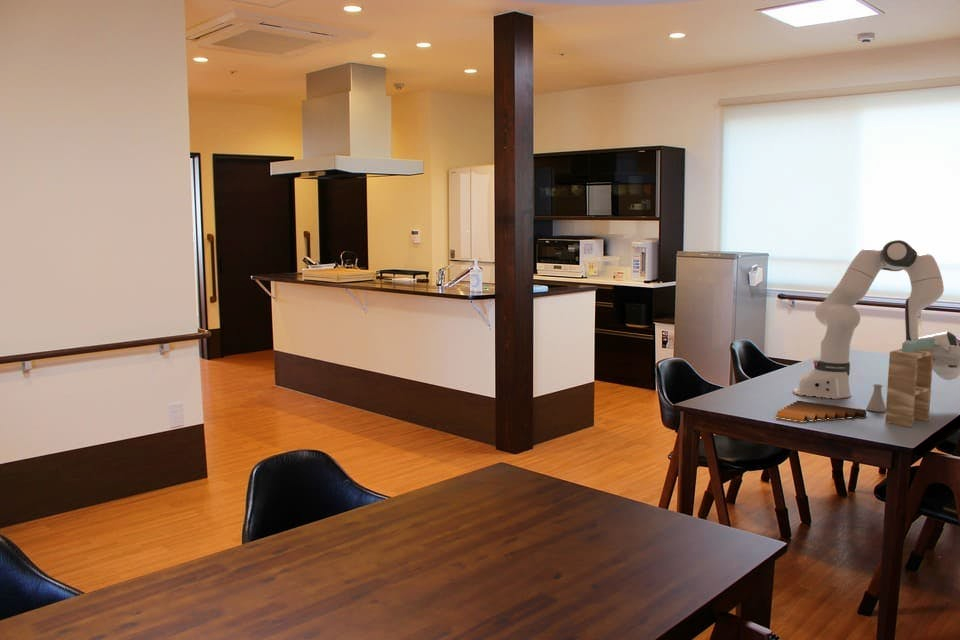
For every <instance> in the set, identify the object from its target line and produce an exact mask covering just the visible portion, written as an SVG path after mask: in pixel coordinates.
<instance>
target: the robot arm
mask: <svg viewBox="0 0 960 640" xmlns="http://www.w3.org/2000/svg"><path fill="white" fill-rule="evenodd" d="M881 270H882V271H891V272H900V271H903V270H904V271H905V272H906V273H907V275H908V277H909V282H910V286H911V287H910V288H911V289H910V295H909V297H908V298H907V299H905V304H904V306H905V307H904V317H905V318H904V319H905V320H904V322H905V323H904V325H905V341H903V343H905V342H909V341H913V340H918V339H922V338H933V339H935V341H934V347H933V348H929V349H926V350H934V353H933V367H932V372H934V373H935V375H937V376H938V377H939V378H941V379H943V380H945V381H951V380H955V379H957V378H958V377H959V376H960V342H959V339H958V338H957V336H956V335H954V334H953V333H951V332H950V331H943V332H937V333H933V334H928V335H924V336H921V335H920V336H919V321H918V320H919V315H920V313H921V312H922V311H923V310H924V309H926V308H928V307H929V306H931V305H932V304H934V303H936V302H937V301H938V300H939V299H940V298H941V297H942V296H943V293H944V291H945V288H944V280H943V277H942V273H941V270H940V268H939V265H938V263H937V261H936V259H935V257H934V256H933V255H932V254H929V253H919V254H918V252H917V251H916V250H915V249H914V248H913V247H912V246H911V245H910V244H909V243H908V242H906V241H904V240H901V239H893V240H891V241H889V242H887V243H886V244H885V245H884V246H883V248H882V249H880V250H876V249H874V248H869V247H868V248H867V247H866V248H863V249H861V250H860V251H859V252H858V253H857V254H856V255H855V257H854V258H853V259H852V261H851V263H850V264H849V265H848V267H847V268H846V270H845V273H844V275H842V278H841V279H840V281H839V283H838V284H837V285H836V287H835V288H834V289H833V290H832V291H831V293H829V295H828V296H827V297H826V298H825V299H824V300H823V301H822V302H820V303H819V304H818V305H817V306H816V307H815V312H814V315H815V318H816V319H817V321H819V323H820V324H822V325H823V326H825V327H826V332H825V334H824V337H823V339H822V340H821V342H820V353H819V354H820V355H819V360H818V359H814V360H813V365H814V366H813V367H814V369H812V370H810V371H809V372H807V373H806V374H804V375H802V376H801V378H800V380H799V383H798V386H796V387H793V390H792V391H793V394H795V395H797V394H798V396H803V395H806V396H805V397H812V396H816V397H815V398H821V397H823V398H824V397H825V398H824V399H830V398H832V399H833V400H838V399H842V398H843V399H846V398H850V397H852V394H851V387H850V380H849V378H850V377H849V376H850V373H851V371H850V370H851V362H850V353H851V352H850V348H851V344H852V343H851V341H852V339H853V335H854V332H855V329H856V328H857V327H858V325H859V324H860V322H861V314H860V312H859V311H858V310H857V309H856V308H855V307H854V306H855V305H856V304H857V303H858V302H859V301H860V300H861V299H863V298H865V296H866V294H867V293H868V291H869V289H870V288H871V286H872V284H873V282H875V280H876V277H877V275H878V274H879V272H880V271H881ZM823 398H822V399H823Z"/></svg>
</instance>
